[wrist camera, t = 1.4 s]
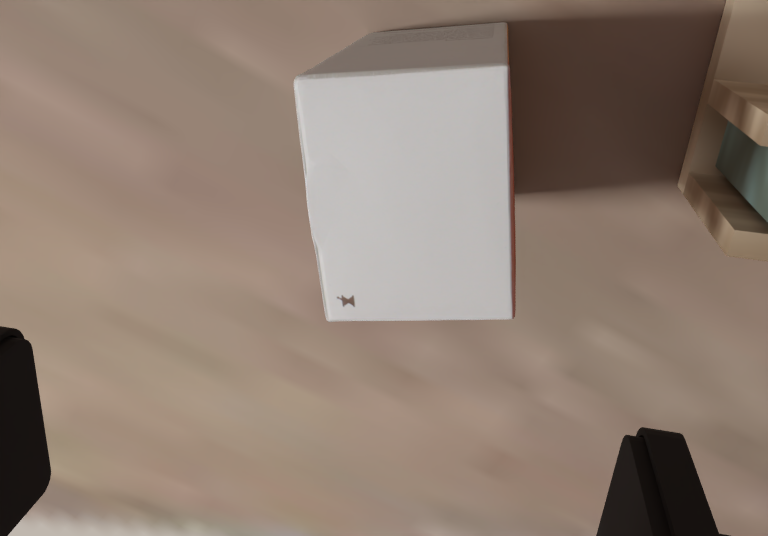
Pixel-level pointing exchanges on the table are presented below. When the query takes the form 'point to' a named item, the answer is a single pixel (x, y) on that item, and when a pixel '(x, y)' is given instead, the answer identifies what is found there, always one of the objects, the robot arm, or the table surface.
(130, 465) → the table surface
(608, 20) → the table surface
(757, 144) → the book rack
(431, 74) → the small box
